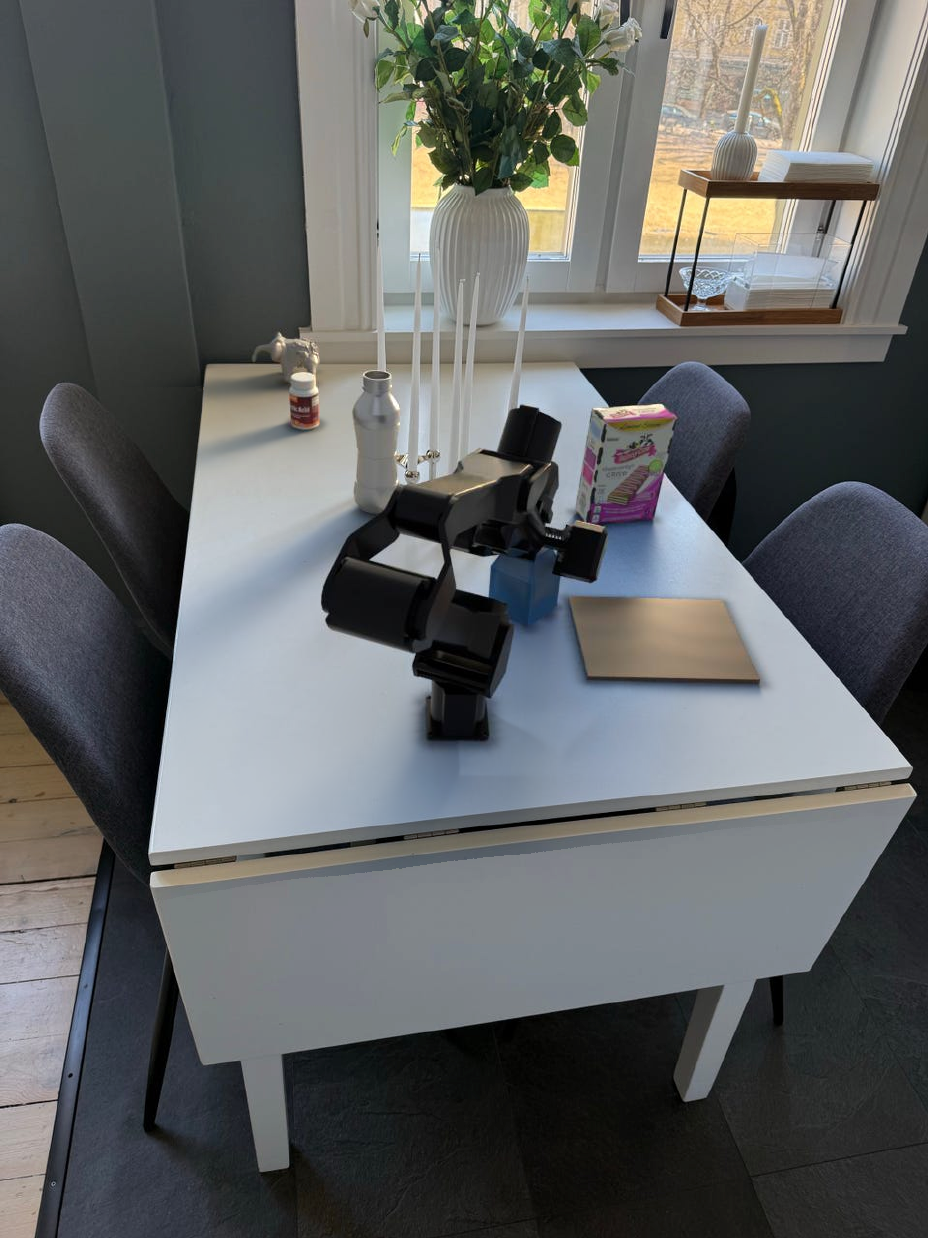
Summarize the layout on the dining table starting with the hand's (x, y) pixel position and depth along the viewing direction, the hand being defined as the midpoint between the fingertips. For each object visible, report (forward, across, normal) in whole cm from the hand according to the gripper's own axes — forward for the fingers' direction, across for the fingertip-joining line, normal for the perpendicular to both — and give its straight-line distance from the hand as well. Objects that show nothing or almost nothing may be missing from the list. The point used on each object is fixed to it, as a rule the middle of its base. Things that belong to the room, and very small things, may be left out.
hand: (532, 556), depth 111 cm
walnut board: (+4, -17, +5) cm, 18 cm away
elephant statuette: (+40, +63, -30) cm, 80 cm away
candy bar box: (+24, -5, -14) cm, 28 cm away
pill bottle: (+29, +50, -19) cm, 61 cm away
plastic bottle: (+14, +27, -4) cm, 31 cm away
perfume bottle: (+4, 0, +6) cm, 7 cm away
